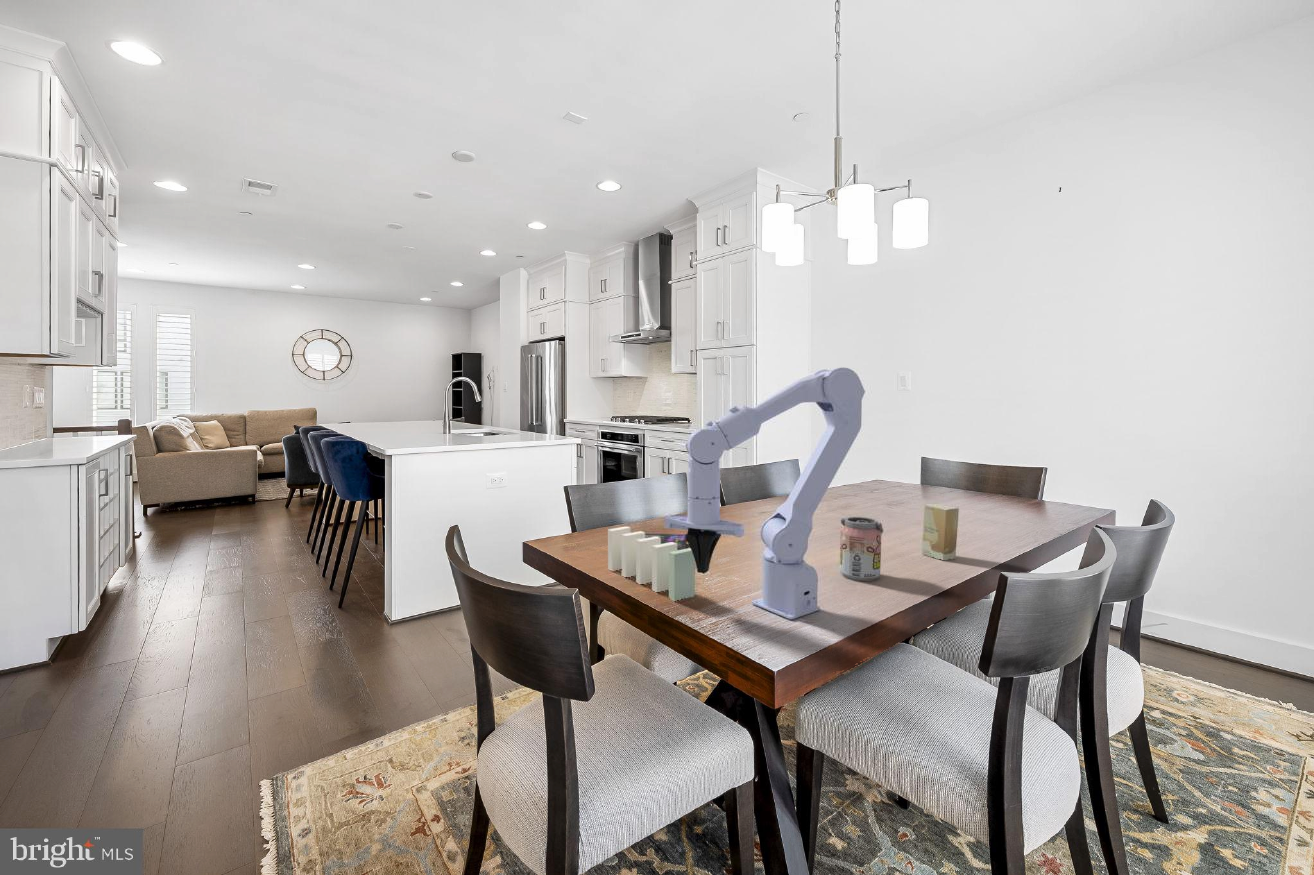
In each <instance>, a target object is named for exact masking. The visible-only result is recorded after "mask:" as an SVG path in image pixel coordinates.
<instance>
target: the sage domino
mask: <svg viewBox="0 0 1314 875" xmlns="http://www.w3.org/2000/svg"><path fill="white" fill-rule="evenodd" d="M695 579H696V562H695V559H694V556H693V553H692V550H691V548H690V547H688V548H687V547H686V549H682V550H677V551H673V552H669V590H668V599H669V598H670V599H671V600H673V601H674V603H675V601H676V602H678V601H677V600H679V601H682V600H681V599H683V598H686V599H690V598H693V597H695V596H696V595H695V594H696V592H695V591H696V585H695V584H696V582H695V581H696V580H695ZM689 597H690V598H689ZM671 600H670V601H671ZM683 600H684V599H683ZM673 601H672V602H673Z"/></svg>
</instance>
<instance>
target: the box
mask: <svg viewBox="0 0 1314 875" xmlns="http://www.w3.org/2000/svg"><path fill="white" fill-rule="evenodd" d="M686 534H687V533H686ZM686 534H676V533H675V534H673V533H671V534H669V533H645V538H650V537H655V536H657V537H659V538H661V544H664V543H669V542H674V543H677V550H682V549H687V545H688V542H687V540H686V539H685V535H686Z"/></svg>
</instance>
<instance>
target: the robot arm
mask: <svg viewBox="0 0 1314 875" xmlns="http://www.w3.org/2000/svg"><path fill="white" fill-rule="evenodd" d="M865 393H866V390H865V388H864V386H863V383H862V381H861V379H860V376H858V374H857V373H856V372H855V371H854V370H853V369H851V368H849V367H837V368H834V369H822V370H819V371H817V372H815V373H813V374H811V375H807V376H804V377H802V378H800V379H798V380H796V381H794V382H792V383H791V384H789V385H788V386H786V387H784V388H783V389H781V390H779V391H778V392H776V393H775V394H774V395H771V396H770V397H768V398H767V399H765V400H763V401H762V402H760V403H758V404H757V405H755V406H753V407H750V406H746V405H740V406H738V407H737V406H735V405H734V406H732V407H730V408H728V411H729V412H728V413H726V414H725V415H723V416H721V417H720V418H717V419H716V420H714V421H713V422H712V421H711V420H708V421H707V422H705V425H706V428H698V429H696V430H694V431H692V432H691V433H690V434H689V436H688V438H687V441H686V443H685V449H686V452H687V454H688V455H689V457H688V461H687V462H688V464H687V466H688V470H687V516H679V515H678V516H677V515H676V516H675V515H669V516H666V517H664V529H677V530H678V529H679V530H685V531H686V530H687V533H686V535H685V539H686V540H687V545H688V547H689V548H691V550H692V553H693V556H694V559H695V568H696V571H697V573H700V574H706V573H707V572H709V571H710V570H709V569H710V564H711V560H712V556H713V554H714V550H715V548H716V547H717V544H718V542H719V540H720V539H721V536H722V535H728V536H734V537H735V538H741V537H743V536H744V535H745V524H744V523H738V522H734V521H728V520H723V519H720V517H721V516H720V513H721V510H720V509H721V471H720V459H721V458H722V456H723V454H724V451H731V449H733V448H736V447H737V446H739V445H741V444H743V443H745V442H746V441H747V440H749V439H751V438H753V437H755V436H756V435H758V434H759V432H760V429H761V427H762V424H764V423H766V422H767V421H769V420H771V419H772V418H775V417H777V416H779V415H781V414H782V413H785V412H787V411H788V410H791V409H792V408H795V407H796V406H798V405H800V404H802V403H815V404H816V405H817V406H818V407H819V408H820V410H821V411H822V414H823V417H824V419H825V422H826V424H827V426H826V429H825V430H824V432H823V434H822V435H821V437H820V439H819V440H818V443H817V445H816V446H815V448H814V450H813V451H812V453H811V455H810V457H809V458H808V461H807V463H806V465H805V466H804V468H803V470H802V472H801V473H800V475H799V477H798V479H797V481H796V483H795V484H794V485H793V488H792V490H791V491H790V493H789V496H788V497H787V499H786V501H784V502H783V503H782V504H781V505H780V506H778V507H777V509H776V510H775V512H774V513H773V514H772V516H770V517H768V518H767V519H766V520H765V521H764V522H763V523H762V525H761V527H760V532H759V533H760V539H761V541H762V542H763V544H764V545H765V549H764V551H762V564H761V565H762V566H761V567H762V568H761V569H762V570H761V571H762V572H761V574H762V577H761V583H762V585H761V597H759V598H757V599H753V600H751V604H752V605H754V606H757V607H759V608H761V609H764V610H766V611H769V612H772V613H774V614H776V615H779V616H781V617H783V618H786V619H788V620H794V619H798V618H800V617H803V616H805V615H808V614H811V613H814V612H816V611H820V610H821V606H819V605H818V587H819V586H818V583H819V581H818V580H819V579H818V578H819V576H818V573H817V570H816V569H815V567H814V566H811V565H810V564H808V563H807V562H806V561H805V560H804V557H805V555H806V553H807V551H808V546H809V537H810V535H811V533H812V531H813V516H814V514H815V512H816V510H817V509H818V507H819V505H820V503H821V501H822V500H823V498H824V497H825V494H826V492H827V491H828V488H829V487H830V485H831V483H832V482H833V479H834V478H835V476H836V474H837V473H838V471H839V469H840V467H841V465H842V463H843V462H844V460H845V458H846V456H847V454H848V453H849V451H850V450H851V447H852V446H853V444H854V442H855V440H856V438H857V436H859V435H858V434H859V433H860V431H861V428H862V414H863V413H862V412H863V411H862V409H863V408H862V405H863V404H862V402H863V398H864V395H865Z"/></svg>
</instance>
